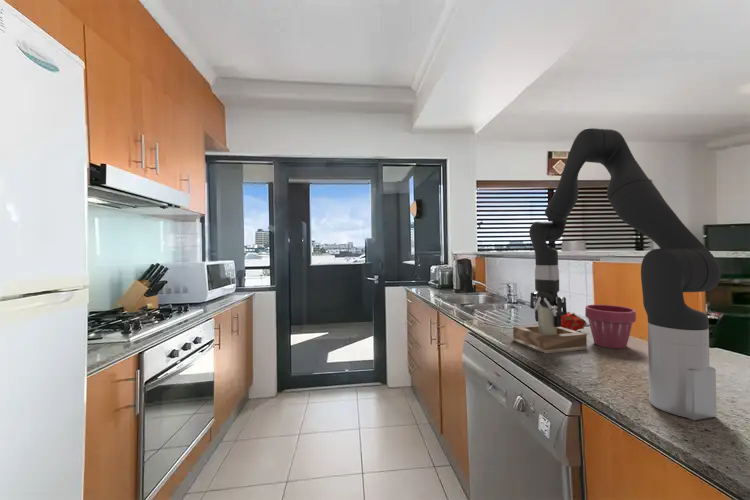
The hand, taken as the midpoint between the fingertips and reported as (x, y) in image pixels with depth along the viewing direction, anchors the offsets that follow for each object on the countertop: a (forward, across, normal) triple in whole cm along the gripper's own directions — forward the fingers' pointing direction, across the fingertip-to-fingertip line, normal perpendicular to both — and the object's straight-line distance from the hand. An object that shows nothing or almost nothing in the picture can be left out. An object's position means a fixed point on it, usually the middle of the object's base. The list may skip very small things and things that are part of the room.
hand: (547, 324), depth 112 cm
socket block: (+7, 0, 0) cm, 7 cm away
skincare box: (+6, 0, 0) cm, 6 cm away
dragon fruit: (+7, -13, +22) cm, 27 cm away
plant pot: (+7, +6, +20) cm, 22 cm away
